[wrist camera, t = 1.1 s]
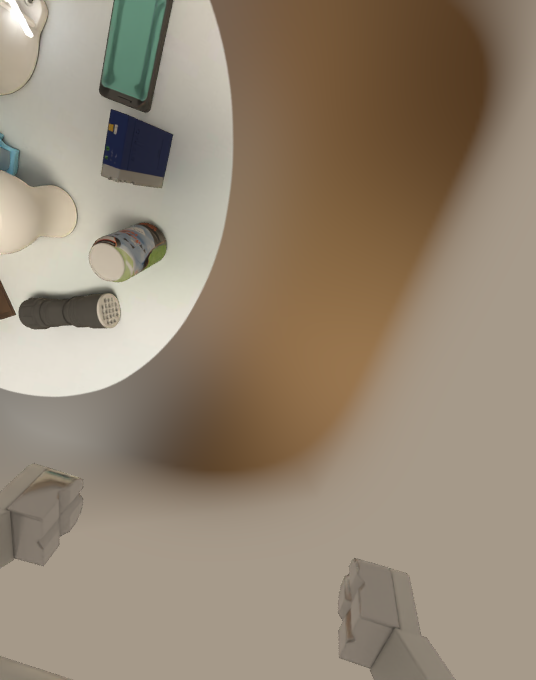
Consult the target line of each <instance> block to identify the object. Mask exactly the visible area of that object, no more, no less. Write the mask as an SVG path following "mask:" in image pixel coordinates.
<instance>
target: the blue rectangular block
mask: <svg viewBox="0 0 536 680" xmlns="http://www.w3.org/2000/svg"><path fill="white" fill-rule="evenodd" d="M172 137H173V135H172V134H170V133H168V132H166V131H163V130H161V129H159V128H157V127H154V126H152V125H150V124H147V123H145V122H143V121H141V120H138V119H136V118H134V117H131V116H129V115H127V114H124V113H121V112H118V111H115V110H112V109H111V112H110V118H109V125H108V131H107V138H106V144H105V151H104V157H103V164H102V171H101V175H102V176H103V177H106V178H108V179H109V180H113V181H116V182H119V181H120V182H126V183H133V184H134V185H141V186H148V187H156V188H162V185H163V180H164V175H165V171H166V166H167V161H168V156H169V152H170V147H171V142H172Z"/></svg>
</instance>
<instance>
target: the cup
mask: <svg viewBox="0 0 536 680" xmlns="http://www.w3.org/2000/svg"><path fill="white" fill-rule="evenodd" d="M76 221H77V212H76V207H75V205H74V202H73V200H72V199H71V197H70V196H69V195H68V194H67V193H66V192H65V191H64V190H63V189H61V188H59V187H57V186H53V185H46V186H38V187H31V186H29V185H27V184H26V183H25V182H24V181H22V180H20V179H19V178H17V177H15V176H13V175H11V174H9V173H7V172H5V171H2V170H0V255H3V254H10V253H14V252H17V251H20V250H22V249H24V248H25V247H27V246H29V245H31V244H32V243H33V242H34V241H36V240H37V238H38V237H40V236H46V237H56V238H62V237H65V236H67V235H69V234H70V233H71V232H72V231H73V229H74V228H75V225H76Z"/></svg>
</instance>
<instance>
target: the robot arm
mask: <svg viewBox="0 0 536 680" xmlns="http://www.w3.org/2000/svg"><path fill="white" fill-rule="evenodd" d="M47 16H48V9H47V6H46V4H45V2H44V0H33V3H32V0H0V95H6V94H10V93H13V92H15V91H17V90H19V89H20V88H21V87H23V86H24V85H25V84H26V82H27V81H28V80H29V78H30V77H31V75H32V73H33V71H34V68H35V65H36V62H37V58H38V50H39V39H40V34H41V31H42V29H43V27H44V25H45V23H46V20H47ZM82 489H83V479H81V478H79V477H76V476H73V475H70V474H67V473H64V472H61V471H57V470H54V469H51V468H48V467H45V466H41V465H38V464H35V463H34V464H31V465H29V466H28V467H26V468H25V469H24V470H23V471H22V472H21V473H20V474H19V475H18V476H17V477H16V478H14V479H13V480H12V481H11V482H10V483H9V484H8V485H7V486H6V487H5V488H4V489H3V490H1V491H0V568H1V567H3V566H5V565H6V564H8V563H10V562H11V561H13V560H14V558H15V559H19V560H23V561H27V562H30V563H34V564H37V565H41V566H44V565H45V563H46V562H47V561H48V560H49V558H50V557H51V556H52V554H53V553H54V551H55V550H56V549H57V548H58V546H59V537H60V536H62V535H64V534H66V533H68V532H70V530H71V529H72V527H73V526H74V525H75V523H76V521H77V519H78V517H79V515H80V513H81V510H82V506H83V498H82V496H81V495H80V493H79V492H80V491H81V490H82ZM338 614H339V616H340V617H341V619H342V621H343V622H342V624H341V626H340V629H339V631H338V634H339V658H341V659H344V660H347V661H349V662H352V663H355V664H358V665H361V666H364V667H367V668H370V669H371V670H370V672H371V674H372V676H373V678H374V680H455V678H454V677H453V675H452V674H451V672H450V671H449V669H448V668H447V666H446V665H445V664H444V662H443V661H442V659H441V658H440V656H439V655H438V653H437V652H436V650H435V649H434V647H433V646H432V644H431V643H430V642H429V640H428V639H427V638H426V637H424V636H421V632H420V627H419V622H418V617H417V612H416V607H415V602H414V597H413V592H412V587H411V582H410V577H409V576H408V574H407V573H404V572H401V571H398V570H394V569H391V568H388V567H385V566H381V565H378V564H374V563H370V562H367V561H363V560H360V559H356V558H354V559H353V560H352V561H351V563H350V565H349V575H347V576H345V577H344V579H343V581H342V584H341V588H340V592H339V600H338ZM0 680H72V679H69V678H66V677H63V676H60V675H57V674H54V673H51V672H47V671H45V670H41V669H39V668H35V667H32V666H29V665H26V664H23V663H20V662H17V661H14V660H11V659H8V658H5V657H1V656H0Z"/></svg>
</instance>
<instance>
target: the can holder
mask: <svg viewBox="0 0 536 680" xmlns="http://www.w3.org/2000/svg"><path fill="white" fill-rule="evenodd" d="M14 315H16V314H15V311H14V309H13V307H12V305H11V303H10V301H9V298H8V296H7V294H6V292H5V290H4V288H3V285H2V283H1V281H0V320H1V319H4V318H7V317H11V316H14Z"/></svg>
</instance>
